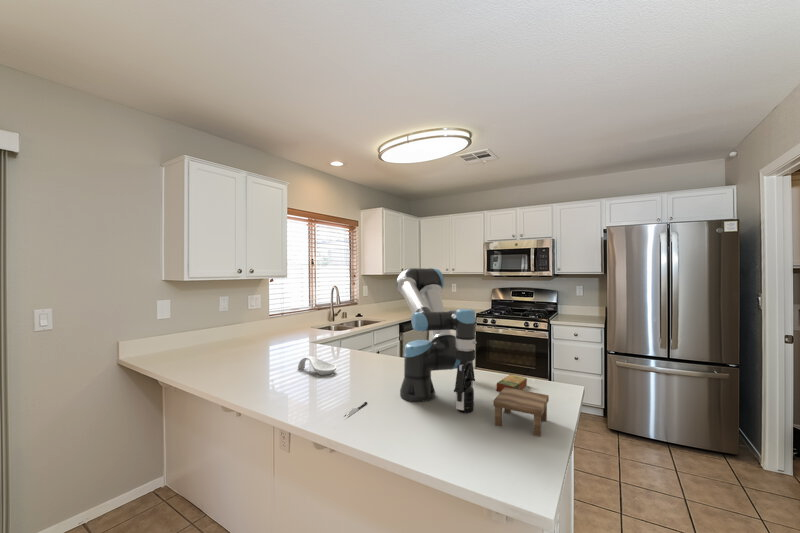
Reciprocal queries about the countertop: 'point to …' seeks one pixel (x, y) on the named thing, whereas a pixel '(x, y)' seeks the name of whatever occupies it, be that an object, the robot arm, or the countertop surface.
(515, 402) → the footstool
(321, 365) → the spoon rest
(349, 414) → the chef's knife
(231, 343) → the countertop surface
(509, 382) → the carton
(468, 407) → the supplement bottle
